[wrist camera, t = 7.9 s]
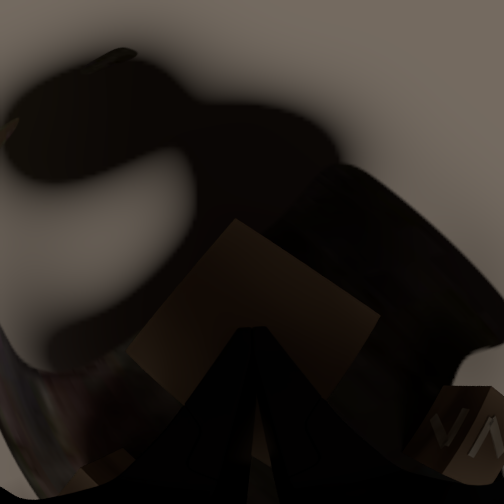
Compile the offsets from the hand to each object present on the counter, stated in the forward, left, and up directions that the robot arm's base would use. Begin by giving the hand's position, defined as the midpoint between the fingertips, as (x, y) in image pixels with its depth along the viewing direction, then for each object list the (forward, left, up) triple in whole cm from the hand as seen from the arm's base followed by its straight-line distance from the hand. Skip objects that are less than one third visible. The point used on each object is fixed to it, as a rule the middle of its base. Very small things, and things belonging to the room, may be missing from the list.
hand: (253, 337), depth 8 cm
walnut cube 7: (+2, -14, -8) cm, 16 cm away
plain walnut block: (0, 0, -8) cm, 8 cm away
